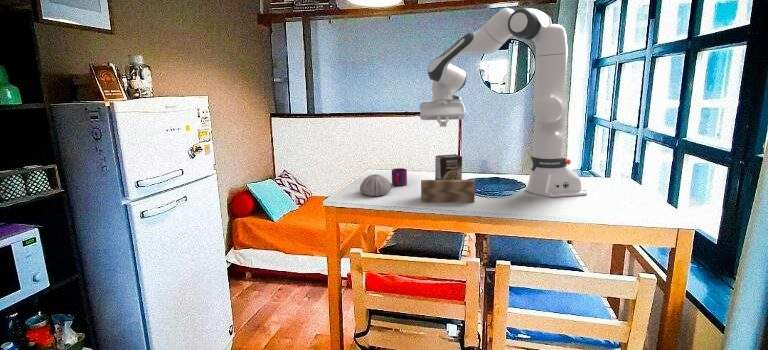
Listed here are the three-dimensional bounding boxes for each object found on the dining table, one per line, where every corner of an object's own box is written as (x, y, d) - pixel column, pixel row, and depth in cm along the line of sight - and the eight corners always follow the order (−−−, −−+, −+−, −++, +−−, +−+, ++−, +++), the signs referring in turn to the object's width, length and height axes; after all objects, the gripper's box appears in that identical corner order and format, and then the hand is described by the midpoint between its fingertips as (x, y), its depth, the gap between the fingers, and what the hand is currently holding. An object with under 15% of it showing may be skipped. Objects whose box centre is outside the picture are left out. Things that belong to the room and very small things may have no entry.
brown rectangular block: (472, 198, 155) (473, 178, 153) (474, 202, 150) (474, 181, 148) (421, 198, 157) (421, 178, 155) (421, 202, 152) (421, 182, 150)
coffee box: (440, 198, 156) (440, 158, 153) (434, 194, 162) (434, 155, 159) (462, 196, 159) (462, 156, 155) (455, 191, 165) (455, 153, 161)
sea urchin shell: (373, 200, 157) (373, 180, 155) (352, 193, 167) (352, 175, 165) (398, 193, 166) (397, 174, 164) (376, 187, 176) (376, 169, 174)
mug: (408, 183, 181) (408, 168, 179) (402, 188, 172) (402, 173, 170) (394, 182, 183) (394, 167, 181) (387, 188, 174) (387, 172, 172)
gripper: (419, 97, 181) (419, 121, 174) (465, 96, 179) (467, 120, 172) (419, 107, 186) (419, 130, 179) (463, 106, 184) (465, 129, 177)
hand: (443, 125), depth 176 cm, fingers closed
